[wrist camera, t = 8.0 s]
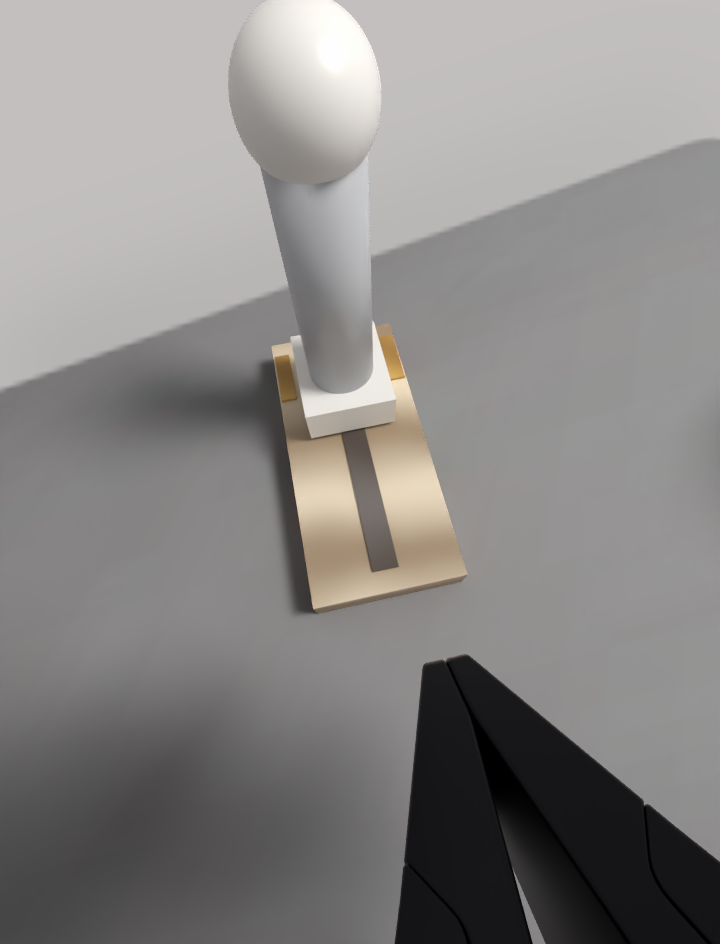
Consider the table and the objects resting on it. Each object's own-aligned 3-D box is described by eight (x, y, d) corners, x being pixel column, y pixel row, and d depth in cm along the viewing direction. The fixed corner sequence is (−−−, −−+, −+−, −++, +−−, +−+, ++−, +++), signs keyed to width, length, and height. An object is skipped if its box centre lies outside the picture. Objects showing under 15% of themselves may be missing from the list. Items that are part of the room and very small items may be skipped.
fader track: (462, 581, 21) (468, 573, 20) (317, 613, 21) (312, 608, 19) (388, 341, 27) (389, 321, 26) (277, 362, 27) (270, 343, 25)
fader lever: (395, 421, 23) (416, 33, 9) (311, 438, 23) (202, 68, 9) (374, 346, 25) (364, -61, 11) (296, 361, 25) (190, -34, 11)
